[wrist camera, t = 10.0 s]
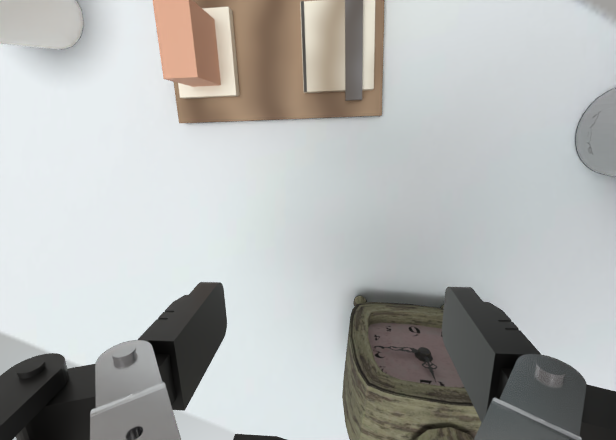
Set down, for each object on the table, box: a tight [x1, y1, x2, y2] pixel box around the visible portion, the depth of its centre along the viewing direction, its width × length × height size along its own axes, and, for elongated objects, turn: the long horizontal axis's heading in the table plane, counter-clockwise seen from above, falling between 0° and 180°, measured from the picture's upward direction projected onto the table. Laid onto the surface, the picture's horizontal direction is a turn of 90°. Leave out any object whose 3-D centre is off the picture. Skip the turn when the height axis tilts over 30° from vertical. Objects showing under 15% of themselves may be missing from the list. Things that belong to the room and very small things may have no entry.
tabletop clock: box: [342, 296, 481, 440], centre depth 31 cm, size 14×9×25 cm, turn 87°
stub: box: [153, 0, 239, 99], centre depth 31 cm, size 6×8×7 cm
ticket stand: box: [174, 0, 384, 123], centre depth 34 cm, size 22×13×4 cm, turn 92°
